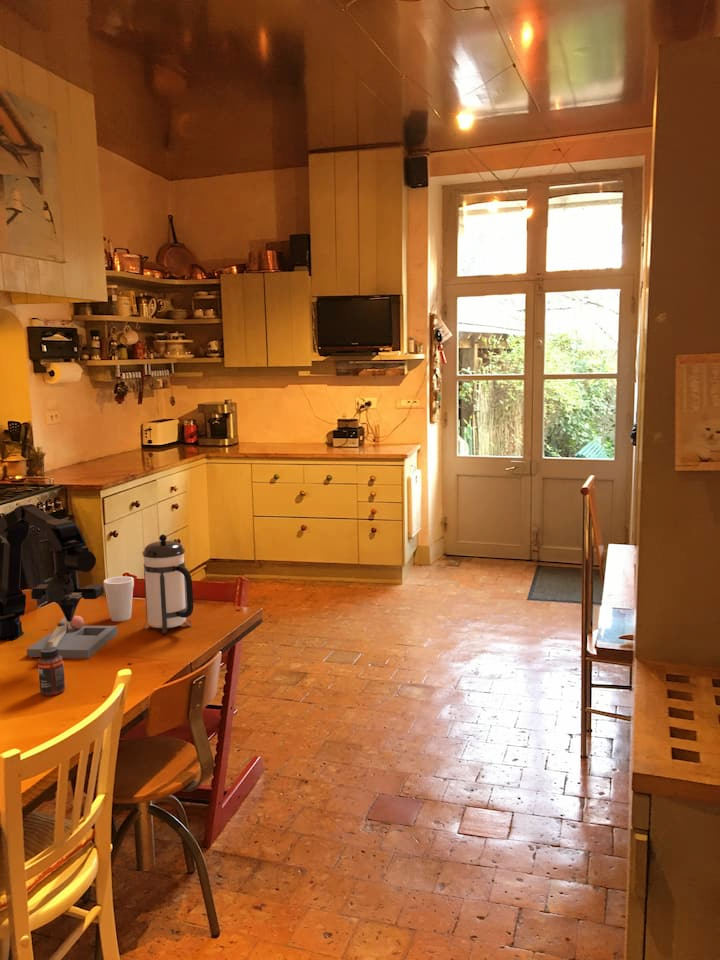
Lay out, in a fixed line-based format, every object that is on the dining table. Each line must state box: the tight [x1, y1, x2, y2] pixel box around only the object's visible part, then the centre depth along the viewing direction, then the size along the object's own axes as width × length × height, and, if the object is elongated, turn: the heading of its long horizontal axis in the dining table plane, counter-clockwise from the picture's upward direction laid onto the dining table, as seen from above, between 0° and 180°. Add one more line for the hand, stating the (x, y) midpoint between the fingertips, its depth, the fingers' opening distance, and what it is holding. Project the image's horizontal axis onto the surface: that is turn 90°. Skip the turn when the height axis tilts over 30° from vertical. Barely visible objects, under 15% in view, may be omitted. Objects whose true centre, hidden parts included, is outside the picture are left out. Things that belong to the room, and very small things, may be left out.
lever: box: [47, 615, 70, 647], centre depth 225 cm, size 2×24×4 cm, turn 10°
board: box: [26, 625, 119, 659], centre depth 228 cm, size 18×21×2 cm
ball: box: [70, 615, 84, 629], centre depth 235 cm, size 4×4×4 cm
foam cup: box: [103, 575, 135, 622], centre depth 252 cm, size 10×9×13 cm
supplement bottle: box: [37, 647, 66, 697], centre depth 193 cm, size 6×6×11 cm
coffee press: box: [142, 534, 194, 636], centre depth 240 cm, size 17×16×30 cm
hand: (69, 621), depth 215 cm, fingers closed
